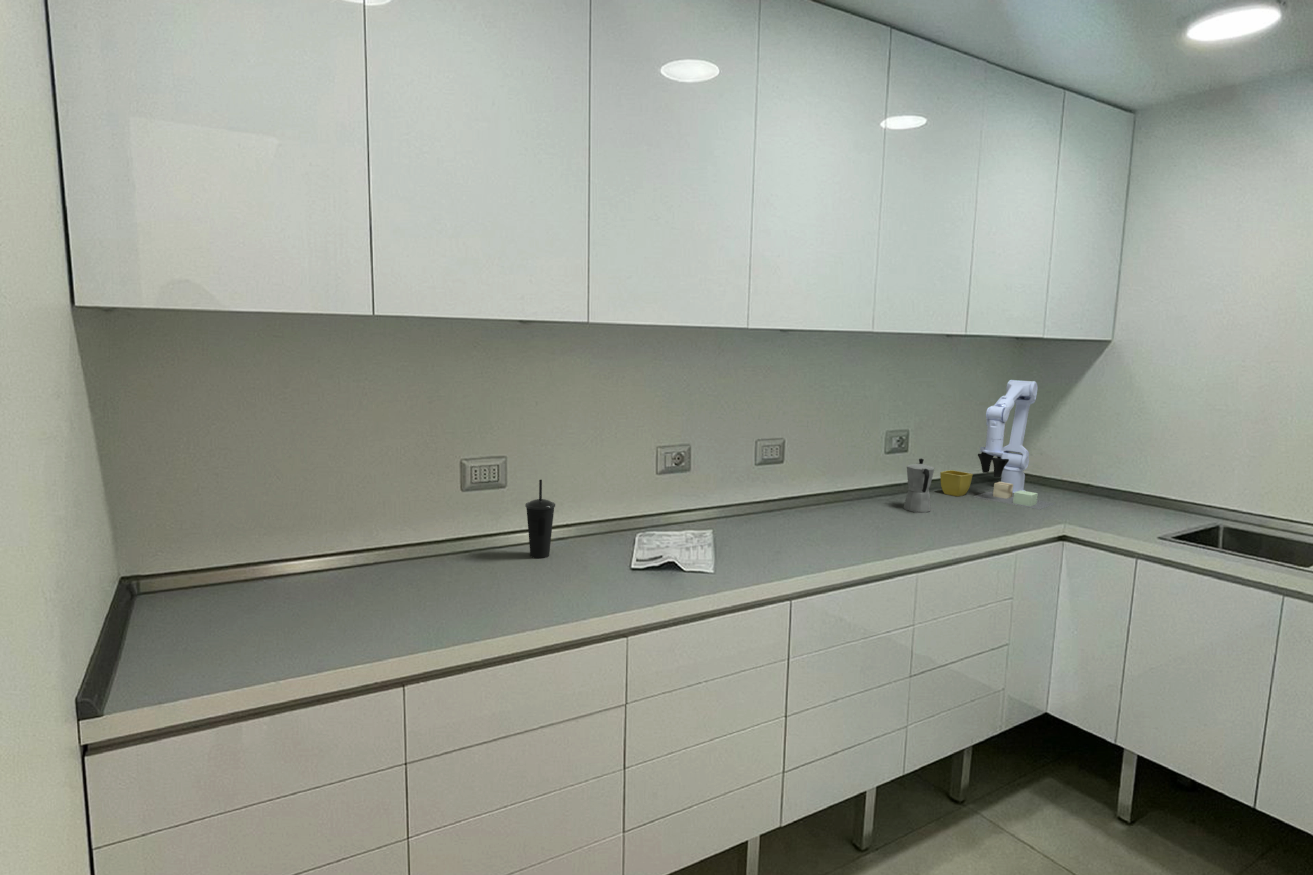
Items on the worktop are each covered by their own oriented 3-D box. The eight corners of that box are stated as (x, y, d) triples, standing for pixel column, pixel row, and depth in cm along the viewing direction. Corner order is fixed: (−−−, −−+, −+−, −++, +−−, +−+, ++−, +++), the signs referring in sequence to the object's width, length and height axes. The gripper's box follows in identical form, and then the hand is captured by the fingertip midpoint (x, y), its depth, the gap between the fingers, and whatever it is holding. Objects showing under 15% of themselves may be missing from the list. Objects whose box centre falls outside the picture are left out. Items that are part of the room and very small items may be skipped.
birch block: (998, 494, 277) (999, 481, 277) (1011, 496, 274) (1013, 484, 273) (992, 496, 274) (994, 483, 273) (1006, 498, 270) (1007, 485, 270)
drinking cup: (560, 554, 188) (561, 479, 185) (541, 562, 182) (542, 484, 179) (538, 549, 192) (538, 475, 189) (518, 556, 186) (519, 480, 183)
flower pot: (949, 492, 282) (951, 469, 280) (971, 496, 275) (973, 473, 274) (937, 495, 276) (939, 471, 275) (959, 499, 269) (961, 475, 268)
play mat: (989, 493, 282) (989, 491, 282) (1055, 505, 265) (1055, 503, 265) (972, 498, 272) (972, 496, 272) (1039, 511, 255) (1040, 509, 255)
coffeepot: (898, 504, 258) (902, 454, 256) (925, 505, 258) (929, 455, 255) (909, 514, 243) (914, 462, 240) (938, 516, 242) (943, 463, 240)
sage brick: (1019, 500, 268) (1020, 490, 267) (1036, 504, 263) (1037, 493, 263) (1012, 503, 264) (1014, 492, 263) (1030, 506, 259) (1031, 495, 259)
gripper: (973, 435, 273) (970, 470, 275) (996, 441, 259) (992, 478, 261) (991, 435, 274) (987, 470, 276) (1014, 441, 260) (1010, 478, 262)
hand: (991, 474), depth 269 cm, fingers open, 7 cm apart
